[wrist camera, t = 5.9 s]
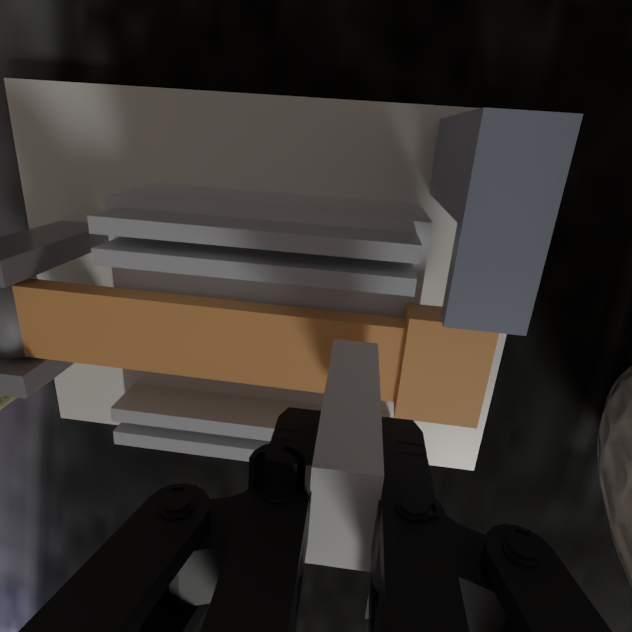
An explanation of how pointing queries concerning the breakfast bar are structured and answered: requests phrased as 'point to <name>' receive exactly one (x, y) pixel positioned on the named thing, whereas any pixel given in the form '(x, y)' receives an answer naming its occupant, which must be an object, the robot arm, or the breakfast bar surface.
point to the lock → (500, 210)
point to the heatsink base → (225, 236)
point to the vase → (618, 466)
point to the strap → (250, 343)
